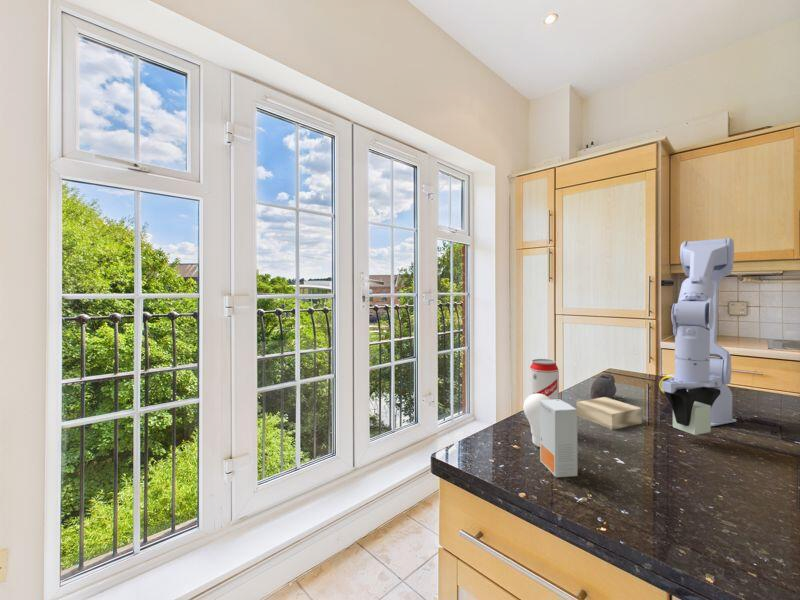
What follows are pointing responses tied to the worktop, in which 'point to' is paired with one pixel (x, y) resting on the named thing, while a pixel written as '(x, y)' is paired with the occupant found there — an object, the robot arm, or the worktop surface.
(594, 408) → the maple block
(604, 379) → the perforated stone tool
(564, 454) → the skincare box
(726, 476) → the worktop surface
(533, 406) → the lightbulb
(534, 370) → the beer can
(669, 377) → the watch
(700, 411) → the sage block
